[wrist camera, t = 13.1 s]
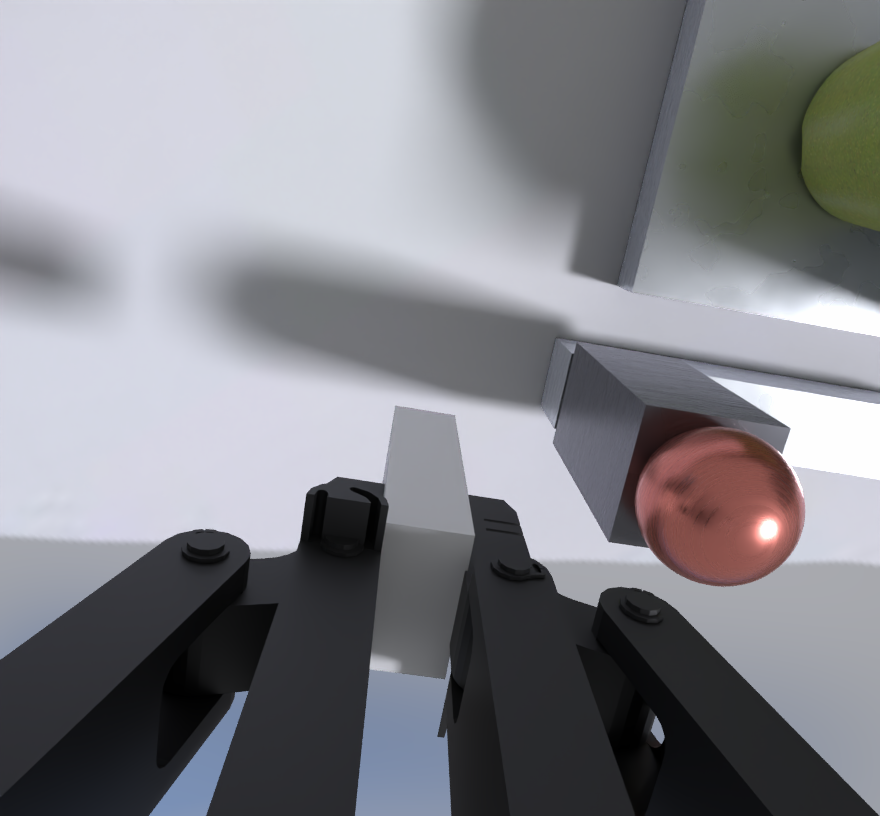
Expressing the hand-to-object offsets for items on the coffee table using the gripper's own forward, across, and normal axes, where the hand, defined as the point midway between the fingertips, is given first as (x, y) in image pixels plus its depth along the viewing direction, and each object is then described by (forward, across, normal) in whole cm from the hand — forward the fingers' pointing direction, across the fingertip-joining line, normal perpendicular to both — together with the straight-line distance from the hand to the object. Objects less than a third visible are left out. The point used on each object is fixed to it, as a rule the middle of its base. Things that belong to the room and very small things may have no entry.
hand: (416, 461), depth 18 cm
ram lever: (+9, +8, 0) cm, 12 cm away
